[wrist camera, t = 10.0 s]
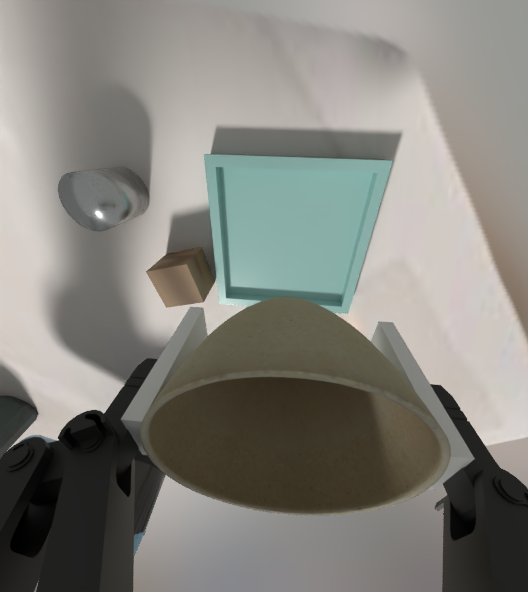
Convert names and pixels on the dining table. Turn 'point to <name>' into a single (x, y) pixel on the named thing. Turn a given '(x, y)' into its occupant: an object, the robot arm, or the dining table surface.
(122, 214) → the grey tin
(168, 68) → the dining table surface
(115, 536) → the robot arm
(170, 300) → the walnut block
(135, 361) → the dining table surface
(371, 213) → the tray
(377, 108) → the dining table surface
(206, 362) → the flower pot
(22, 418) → the bottle
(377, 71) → the dining table surface
